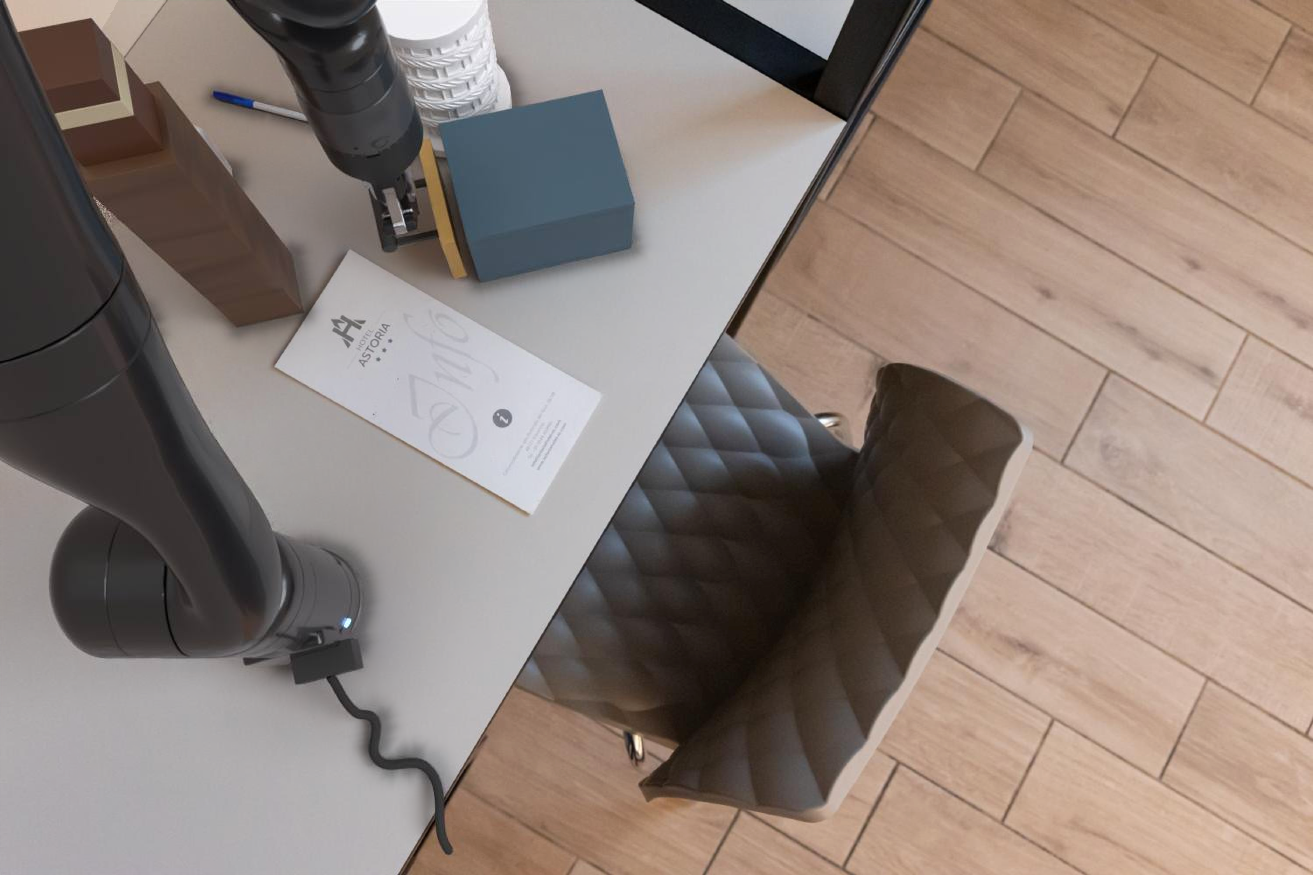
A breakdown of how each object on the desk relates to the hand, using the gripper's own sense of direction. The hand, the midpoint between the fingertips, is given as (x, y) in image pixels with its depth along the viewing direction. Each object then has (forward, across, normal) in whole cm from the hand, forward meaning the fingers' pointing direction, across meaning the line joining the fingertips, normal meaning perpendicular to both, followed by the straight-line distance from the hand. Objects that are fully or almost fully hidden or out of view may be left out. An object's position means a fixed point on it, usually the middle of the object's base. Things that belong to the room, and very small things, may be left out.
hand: (406, 211), depth 86 cm
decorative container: (+6, -13, +6) cm, 16 cm away
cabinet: (+6, 0, +12) cm, 13 cm away
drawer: (+5, 0, +7) cm, 8 cm away
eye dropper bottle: (+6, -10, -18) cm, 22 cm away
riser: (+6, +2, -15) cm, 16 cm away
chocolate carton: (-22, +2, -15) cm, 27 cm away
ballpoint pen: (+6, -16, -11) cm, 21 cm away
